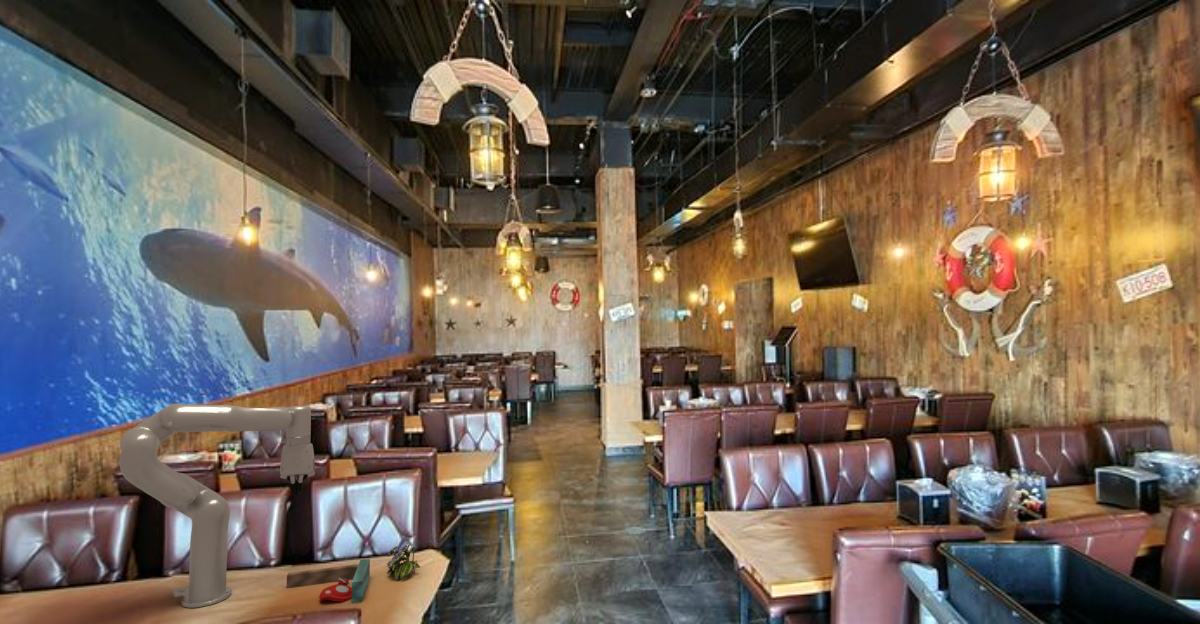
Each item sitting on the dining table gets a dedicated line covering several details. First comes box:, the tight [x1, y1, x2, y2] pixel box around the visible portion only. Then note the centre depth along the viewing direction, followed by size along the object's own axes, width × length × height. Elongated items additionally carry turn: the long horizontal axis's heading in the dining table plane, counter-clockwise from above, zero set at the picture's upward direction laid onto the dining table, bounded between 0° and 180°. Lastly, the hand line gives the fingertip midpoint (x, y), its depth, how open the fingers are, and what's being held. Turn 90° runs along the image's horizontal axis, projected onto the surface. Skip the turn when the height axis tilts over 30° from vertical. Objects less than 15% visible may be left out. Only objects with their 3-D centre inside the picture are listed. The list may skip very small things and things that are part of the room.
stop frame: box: [286, 558, 371, 604], centre depth 169 cm, size 25×21×6 cm
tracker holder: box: [318, 578, 352, 603], centre depth 167 cm, size 12×4×10 cm
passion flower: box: [386, 543, 421, 582], centre depth 183 cm, size 11×11×12 cm
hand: (297, 494), depth 187 cm, fingers closed
